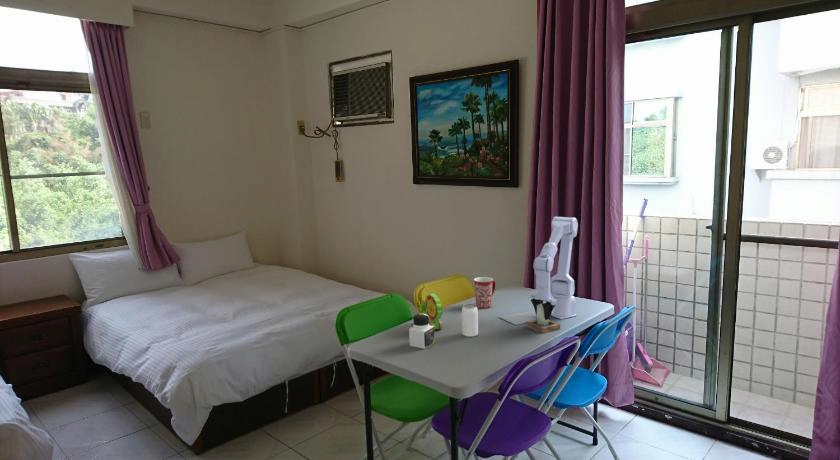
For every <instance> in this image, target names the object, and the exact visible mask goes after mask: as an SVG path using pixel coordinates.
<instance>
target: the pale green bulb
mask: <svg viewBox="0 0 840 460" xmlns="http://www.w3.org/2000/svg"><path fill="white" fill-rule="evenodd" d="M536 319H537V325H538V326H541V327H544V326H548V325H549V320H550V319H548V320H545V317H544V309H543V306H542V304H538V305H537V316H536Z"/></svg>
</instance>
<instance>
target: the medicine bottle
mask: <svg viewBox="0 0 840 460" xmlns="http://www.w3.org/2000/svg"><path fill="white" fill-rule="evenodd" d="M426 314H427V313H426ZM426 314H421V313H418V314H415V315H413V317H412V318H413V319H412V320H413V326H411V327H410V328H409V329H408V333H409V334H408V337H409V347H413V348H417V349H418V348H419V349H423V350H426V349H428V348H429V347H430V346H432V345H434V344H435V330H434V326H430V325H429V316H428V315H426Z"/></svg>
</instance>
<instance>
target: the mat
mask: <svg viewBox="0 0 840 460" xmlns="http://www.w3.org/2000/svg"><path fill="white" fill-rule="evenodd" d="M498 317H499V319H501V320H503V321H505V322H508V323H510V324H511V325H514V326H519V325H520V326H521V325H524V324H525V325H526V322H527V321H532V320H536V319H537V317H536V318H535V317H533V316H531V315H528V314H526V313H523V312H522V311H521V312H515V313H511V314H507V315H501V316H498Z"/></svg>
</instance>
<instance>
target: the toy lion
mask: <svg viewBox="0 0 840 460" xmlns="http://www.w3.org/2000/svg"><path fill="white" fill-rule="evenodd" d="M420 314H426V315H428V316H429V325H430V326H434V331H436V330H439V331H440V330H442V329H443V327H444V326H443V322H442V320H440V319H441V317H442V315H443V306H442V303H441V299H439V297H438V295H437V294H436V293H429V294H427V295H426V298H425V299H424V300H423V301H422V302H421V304H420Z"/></svg>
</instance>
